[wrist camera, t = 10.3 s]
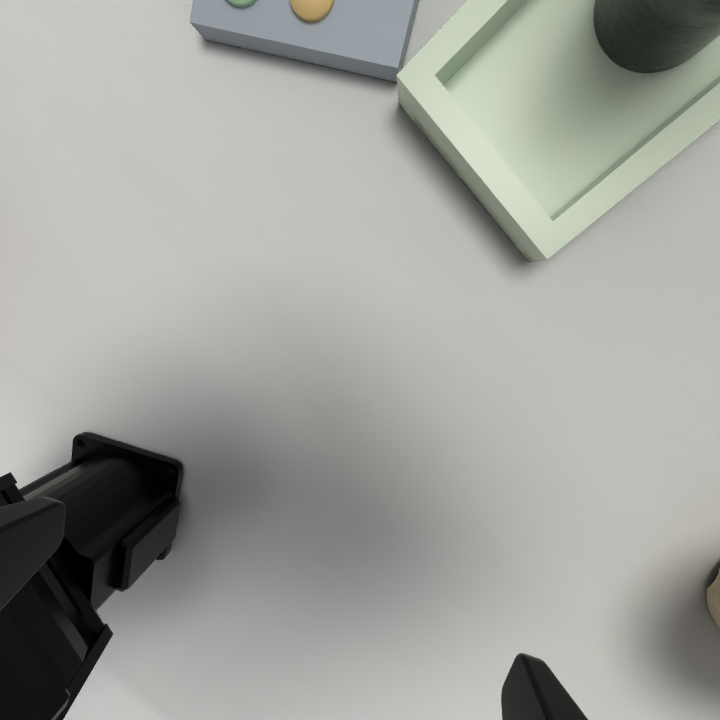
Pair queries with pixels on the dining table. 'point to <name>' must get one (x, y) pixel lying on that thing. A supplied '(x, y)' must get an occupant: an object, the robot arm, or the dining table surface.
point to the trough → (550, 114)
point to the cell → (655, 31)
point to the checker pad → (315, 30)
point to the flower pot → (714, 600)
